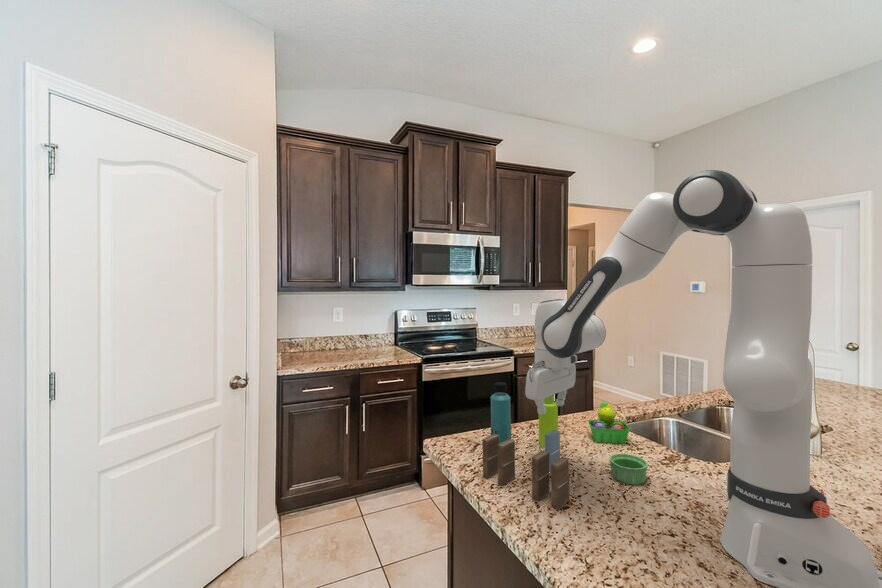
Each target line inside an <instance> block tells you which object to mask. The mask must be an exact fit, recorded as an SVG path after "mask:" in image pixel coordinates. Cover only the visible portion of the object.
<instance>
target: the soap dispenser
mask: <svg viewBox="0 0 882 588" xmlns="http://www.w3.org/2000/svg"><path fill="white" fill-rule="evenodd" d="M554 395H555V394H554ZM554 395H551V396H549V397H546V398H545V400H544V402H543V403H544V407H546V413H545V414H543V415H541V414H538V445H539V447H541V446H542V448H544V447H545V434H547V433H549V432H551V431H553V430H557V431H559V406H557V405H556V401H555V399H554V398H555V397H554Z"/></svg>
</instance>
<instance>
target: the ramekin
mask: <svg viewBox="0 0 882 588" xmlns="http://www.w3.org/2000/svg"><path fill="white" fill-rule="evenodd" d="M608 460H609V463H610V471H611V472H610V473H611V476H612V477H613V478H614V479H615V480H617V481H618V482H621V483H624V484H628V485H642V484H644V483H645V482H646V480H647V470H648V467H649V464H648V462H647V461H646V460H645V459H644V458H642V457H640V456H638V455H634V454H631V453H630V454H629V453H621V452H620V453H613V454H611V455H609V459H608Z"/></svg>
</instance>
